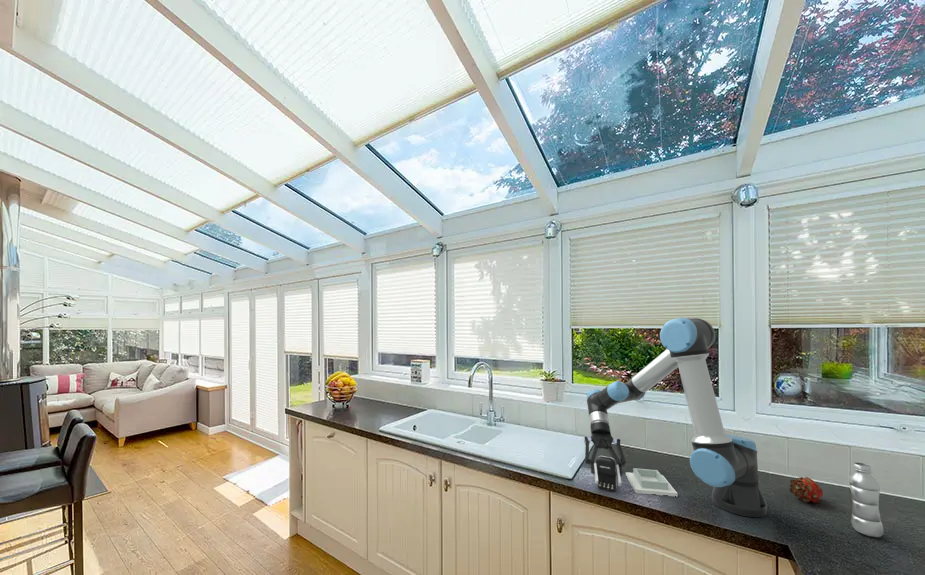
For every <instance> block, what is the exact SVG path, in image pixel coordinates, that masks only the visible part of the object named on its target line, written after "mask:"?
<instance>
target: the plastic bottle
mask: <svg viewBox="0 0 925 575" xmlns="http://www.w3.org/2000/svg"><path fill="white" fill-rule="evenodd" d="M852 468H853V470H854V472H852V473H851V474H850V475H849V477H848V483H849V485H848V486H849V488H850V492H851V498H852V513H851V518H850V523H851V526H852V527H853V528H854V530H855V531H856V532H858V533H860V534H861V535H865V536H867V537H870V538H881V537H882V536H883V535H884V525H883V523H882V520H881V513H880V510H879V509H880V508H879V507H880V505H879V498H880V492H881V491H880V490H881V486H880V484H879V482H878V481H877V479H876V478H875V477H874V476H873V470H872V465H870V464H867V463H862V462H856V461H855V462H854V461H853V467H852Z"/></svg>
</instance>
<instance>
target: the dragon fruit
mask: <svg viewBox="0 0 925 575" xmlns="http://www.w3.org/2000/svg"><path fill="white" fill-rule="evenodd" d="M789 487H790V488H788V490H789V492H790V493H792V494H793V495H794V496H795V497H797V498H798V499H799V500H800V501H802V502H804V503H805V502H806V504H808V503H810V502H812V503H813V504H815V503H817V504H820V502H821V499H820V498H822V497H823V490H822V488H821V487H820V485H818V484H817V483H816V482H815V481H814V480H813V479H811V478H809V476H808V477H807V476H805V477H802V476H799V477H797V478H795V479H790V481H789Z"/></svg>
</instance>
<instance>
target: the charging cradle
mask: <svg viewBox="0 0 925 575" xmlns="http://www.w3.org/2000/svg"><path fill="white" fill-rule="evenodd" d="M632 471H633V472H627V471H626V472H625V477H626V476H627V477H626V478H627V480H628V482H629V484H630V485H631V487H632V489H633V491H634V492H635V493H636V494H641V493H642V495H652V494H656V496H663V495H668V496H667V497H675V496H676V498H677V497H678V496H679V494H678V492H677V491H676V490H675V488H674V487H673V485H671V483H670V482H669V481H668V480H667V478H666V477H665V476H664V475H663V474H661V473H660V472H659V470H658V469H648V468H636V467H635V468H632Z"/></svg>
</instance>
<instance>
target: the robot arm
mask: <svg viewBox="0 0 925 575" xmlns="http://www.w3.org/2000/svg"><path fill="white" fill-rule="evenodd" d="M659 339H660V343H661V344H662V346H663V347H664V348H665V350H664V351H663V352H661V353H660V354H659V355H658V356H657V357H655V358H654V359H653V360H652V361H650V362H649V363H648V364H647V365H646V366H645V367H643V368H642V369H640V370H639V372H637V373H636V374H634V376H633V377H631V378H630V379H629V380H628V381H627V382H622V381H620V380H615V381H614V382H612V383H609V384H608V386H605V387H604V388H603V389H602V390H600V389H593V390H589V391H588V392H587V394H586V404H587V409H588V410H587V411H588V418H589V419H588V420H589V426H590V434H591V436H590V437H588V436H584V439H583V443H584V445H585V448H584V449H585V450H584V452H585V453H584V456H585V457H584V458H585V459H584V463H585V464H586V465H589V466H590V472H591V474H592V475H594V482H595V483H594V484H596V485H598V474H597V466H596V459H597V454H598V450H599V449H606V450H607V452H608V453H609V455H610V457H611V458H613V459H615V461H616V471H617V474H616V482H617V486H618V487H621V485H622V478H621V477H622V476H623V467H626V464H627V461H626V459H625V455H624V452H623V449H622V446H621V438H617V439H615V438H613V436H612V432H611V427H610V421H609V415H608V410H609V409H611V408H612V407H614V406H615V405H617V404H618V405H619V404H621V403H627V402H632V401H638V400H640V399H643V398H644V397H645V396H646V393H647V392H648V391H649V390H650V389H651V388H653V387H654V386H656V385H657V384H659V383H660V382H661V381H662V380H664V379H665V378H666V377H668V375H670V374H672V373H673V372H674V371H675V370H677V368H678V370H679V375H680V379H681V384H682V388H683V392H684V395H685V400H686V403H687V408H688V411H689V416H690V420H691V424H692V428H693V432H694V435H693V437H692V438H691V441H690V442H691V445H692V449H693V450H692V452H691V454H690V456H689V464H690V465H689V466H690V467H691V470H692V471H693V473H694V475H695V476H696V477H697V478H698V479H700V480H701V481H702V482H703V483H705V484H706V485H708V486H710V487H713V488H712V491H711V501H712V503H713V504H714V505H716V506H717V507H719V508H720V509H722V510H724V511H727V512H728V513H732V514H734V515H739V516H743V517H747V518H748V517H749V518H762V517H765V516H766V515H767V514H768V506H767V503H766V500H765V498H764V497H763V494H762V491H761V489H760V487H759V486H760V482H759V468H758V466H759V465H758V450H757V449H758V448H757V444H756V443H755V441H754V440H752V439H750V438H746V437H743V436H738V435H733V434H727V433H726V432H725V429H724V428H725V427H724V426H723V422H722V418H721V413H720V411H719V410H720V409H719V406H718V402H717V400H716V394H715V391H714V388H713V384H712V380H711V376H710V373H709V368H708V365H707V361H706V360H707V358H708V357H709V355H710V352H709V348H710V347H712V345H713V344H714V342H715V341H716V332H715V328H714V327H713V326H712V324H710V322H708V321H706V320H704V319H701V318H697V317H695V318H690V317H688V318H687V317H678V318H673V319H670V320H668V321H667V322H665V323H664V325H663V326H662V327H661V329H660V332H659ZM591 442H592V443H593V444H594V448H593V451H592V455H591V457H590V444H591ZM612 443H613V444H614V446H615V448H616V451H617V453H616V452H615V450H614V448H613V446H612ZM617 454H618V455H617Z"/></svg>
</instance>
